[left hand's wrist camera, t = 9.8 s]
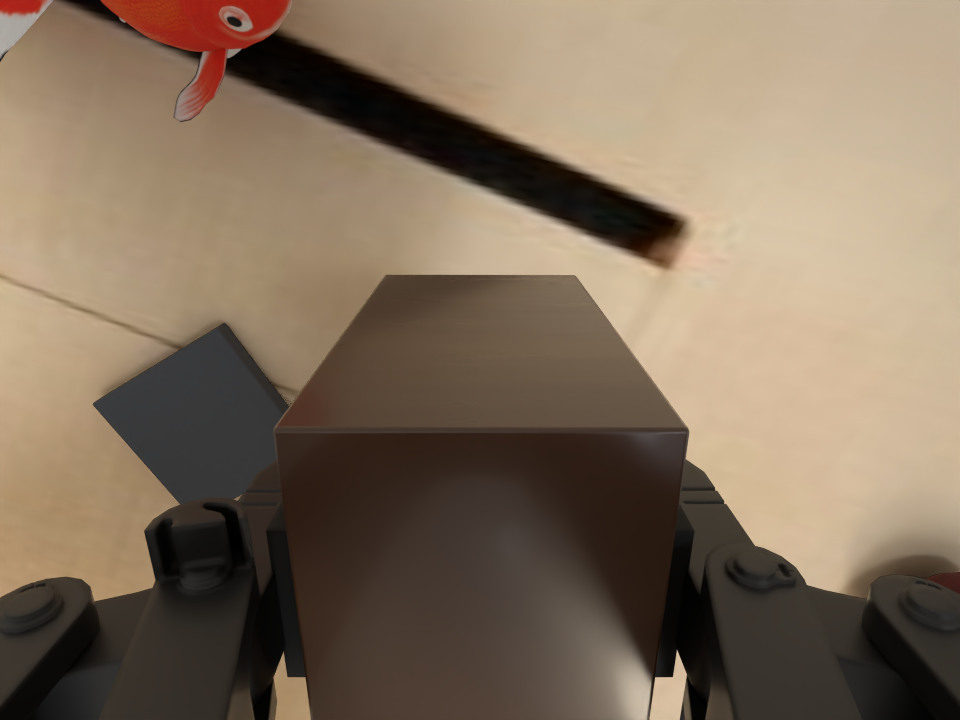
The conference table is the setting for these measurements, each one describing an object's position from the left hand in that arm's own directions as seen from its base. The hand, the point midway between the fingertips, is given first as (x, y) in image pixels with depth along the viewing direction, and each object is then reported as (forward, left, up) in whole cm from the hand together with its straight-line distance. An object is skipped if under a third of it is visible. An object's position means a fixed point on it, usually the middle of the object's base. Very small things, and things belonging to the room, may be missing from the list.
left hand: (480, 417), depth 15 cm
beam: (+5, +8, 0) cm, 10 cm away
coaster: (+16, -1, -15) cm, 22 cm away
